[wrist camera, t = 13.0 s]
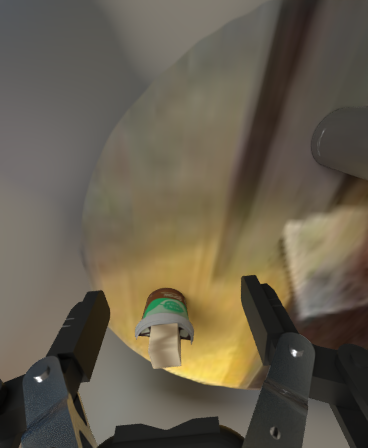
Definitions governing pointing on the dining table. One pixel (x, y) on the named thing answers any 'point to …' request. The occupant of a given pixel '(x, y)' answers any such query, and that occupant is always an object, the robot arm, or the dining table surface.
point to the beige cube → (165, 346)
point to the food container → (165, 313)
